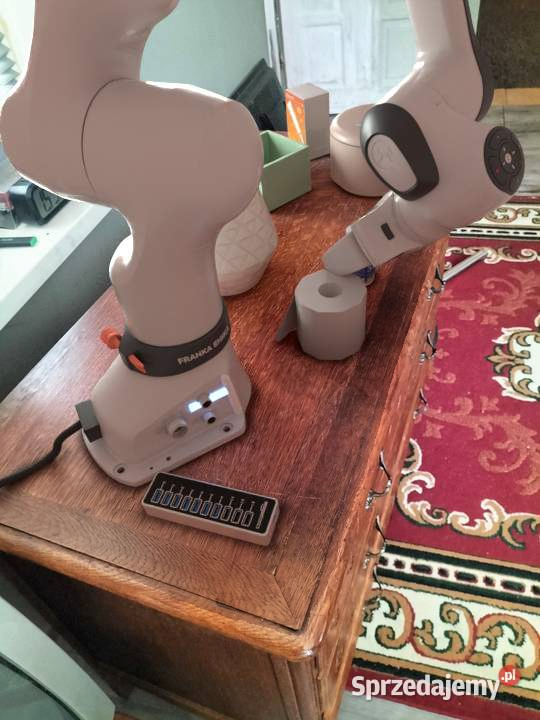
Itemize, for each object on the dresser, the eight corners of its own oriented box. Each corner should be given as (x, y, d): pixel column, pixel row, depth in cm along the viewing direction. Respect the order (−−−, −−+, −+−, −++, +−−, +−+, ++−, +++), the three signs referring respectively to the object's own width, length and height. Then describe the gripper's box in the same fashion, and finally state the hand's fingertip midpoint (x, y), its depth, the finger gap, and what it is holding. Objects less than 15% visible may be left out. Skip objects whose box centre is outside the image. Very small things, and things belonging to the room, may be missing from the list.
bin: (264, 214, 102) (259, 169, 96) (226, 193, 109) (219, 150, 103) (311, 189, 107) (309, 145, 101) (271, 171, 114) (267, 129, 108)
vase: (160, 301, 86) (118, 164, 70) (203, 242, 97) (176, 112, 81) (261, 316, 81) (241, 173, 65) (294, 252, 92) (285, 116, 76)
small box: (288, 149, 121) (284, 88, 112) (312, 141, 123) (309, 81, 114) (306, 162, 116) (303, 99, 107) (331, 153, 118) (330, 91, 109)
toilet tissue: (264, 343, 77) (257, 297, 71) (339, 308, 81) (339, 261, 75) (297, 381, 71) (294, 334, 65) (377, 341, 75) (380, 293, 69)
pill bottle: (373, 289, 83) (376, 240, 77) (339, 287, 84) (339, 239, 78) (375, 268, 87) (378, 220, 81) (343, 267, 88) (343, 219, 82)
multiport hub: (162, 480, 62) (157, 470, 60) (280, 509, 58) (279, 498, 56) (145, 514, 59) (139, 503, 58) (268, 547, 55) (266, 536, 54)
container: (317, 194, 105) (316, 135, 97) (345, 154, 117) (345, 98, 108) (409, 205, 99) (415, 143, 91) (428, 162, 111) (435, 103, 102)
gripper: (449, 166, 74) (389, 206, 87) (346, 226, 66) (297, 261, 78) (471, 206, 75) (409, 240, 87) (372, 270, 66) (319, 298, 79)
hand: (355, 250), depth 83 cm, fingers closed on pill bottle, 5 cm apart
